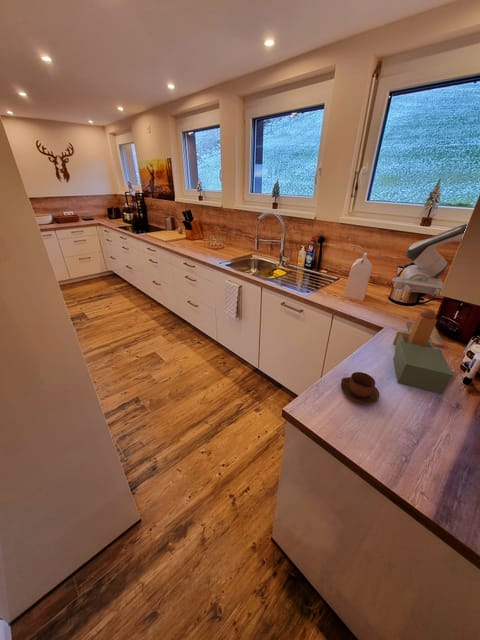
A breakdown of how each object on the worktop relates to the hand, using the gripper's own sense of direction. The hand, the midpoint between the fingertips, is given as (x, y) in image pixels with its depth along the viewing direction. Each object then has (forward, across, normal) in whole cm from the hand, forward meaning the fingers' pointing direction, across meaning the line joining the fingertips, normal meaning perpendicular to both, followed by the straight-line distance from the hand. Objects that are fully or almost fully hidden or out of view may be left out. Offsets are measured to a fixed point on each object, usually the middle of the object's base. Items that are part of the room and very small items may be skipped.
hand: (422, 292), depth 109 cm
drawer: (+14, 0, +22) cm, 26 cm away
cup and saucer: (+47, -20, +23) cm, 56 cm away
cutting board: (-7, +9, +23) cm, 26 cm away
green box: (+28, 0, +23) cm, 36 cm away
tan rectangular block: (+16, 0, +21) cm, 26 cm away
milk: (-44, -22, +23) cm, 55 cm away
